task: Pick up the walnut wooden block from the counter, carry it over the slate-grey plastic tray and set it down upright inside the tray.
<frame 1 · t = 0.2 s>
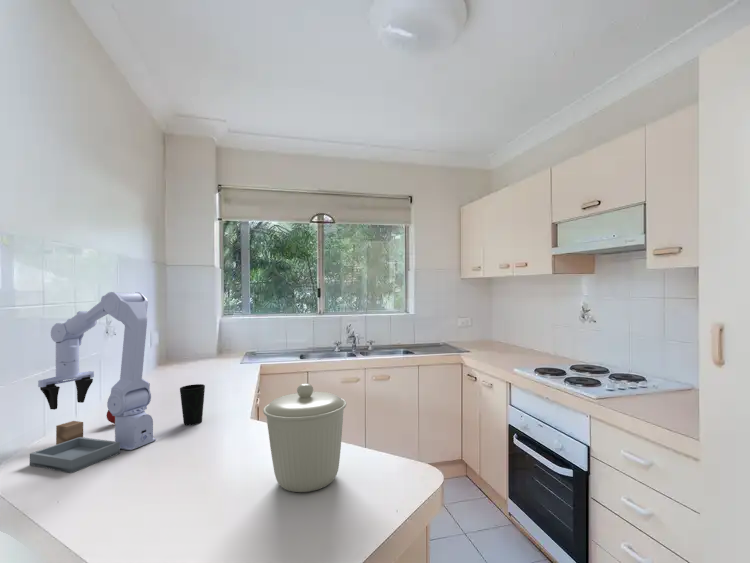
hand: (67, 405, 117), 10 cm above the worktop, tool pointing down, fingers open, 7 cm apart
block: (69, 444, 111), on the worktop
canister: (307, 481, 83), on the worktop
cup: (192, 423, 127), on the worktop
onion: (117, 425, 128), on the worktop
tray: (75, 459, 99), on the worktop
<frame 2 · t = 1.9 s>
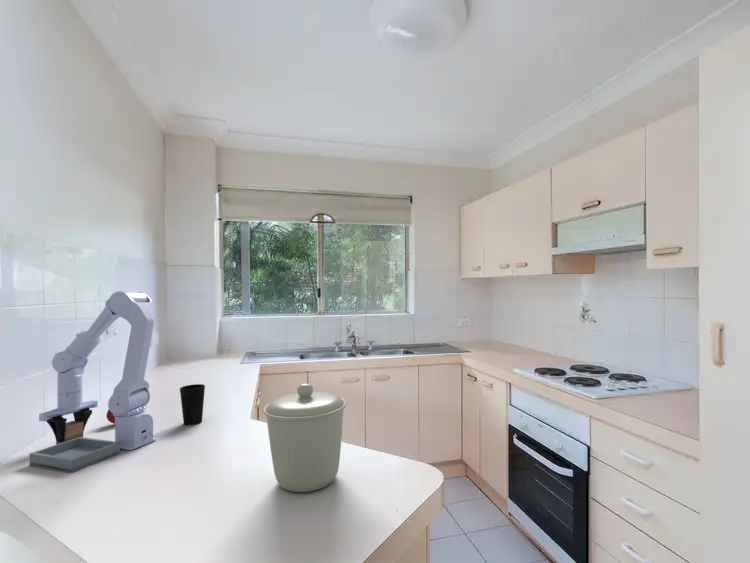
hand: (69, 438, 111), 2 cm above the worktop, tool pointing down, fingers closed on block, 4 cm apart
block: (69, 444, 111), on the worktop, touching gripper
everything else where it was.
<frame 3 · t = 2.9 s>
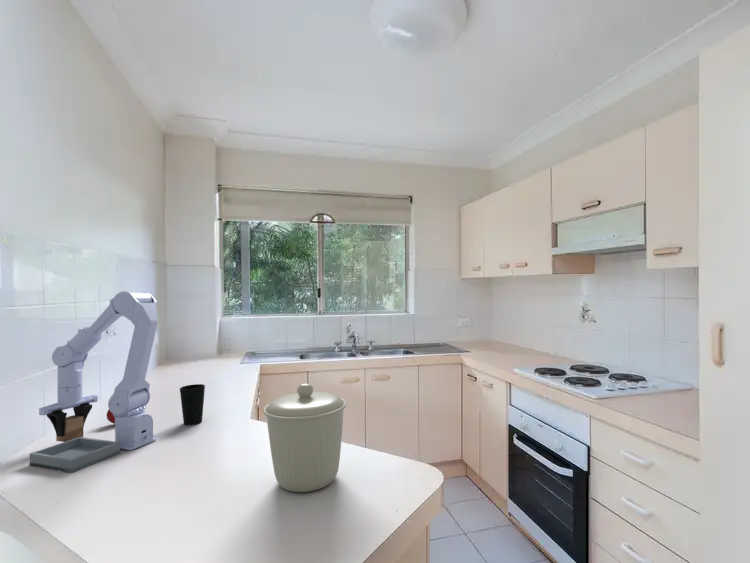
hand: (70, 433, 111), 3 cm above the worktop, tool pointing down, fingers closed on block, 4 cm apart
block: (70, 438, 111), point 2 cm above the worktop, touching gripper
everything else where it was.
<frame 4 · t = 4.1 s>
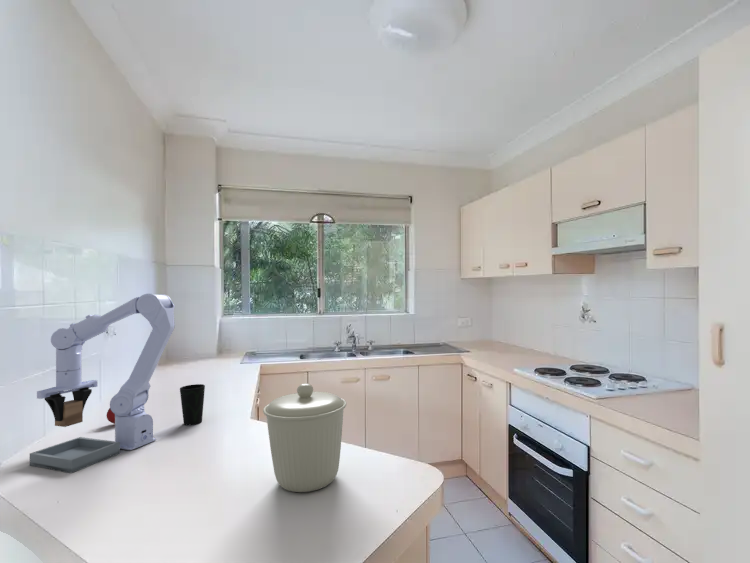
hand: (68, 417, 108), 9 cm above the worktop, tool pointing down, fingers closed on block, 4 cm apart
block: (68, 423, 108), point 7 cm above the worktop, touching gripper
everything else where it was.
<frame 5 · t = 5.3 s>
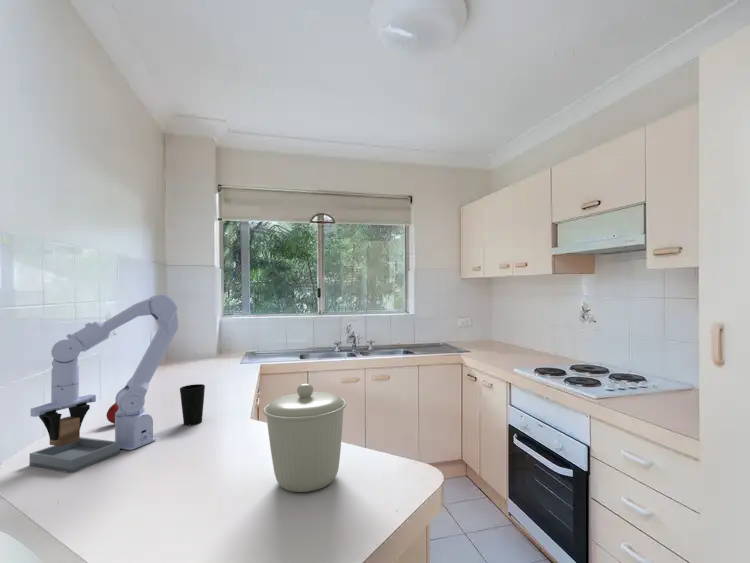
hand: (64, 436, 100), 6 cm above the worktop, tool pointing down, fingers closed on block, 4 cm apart
block: (64, 442, 100), point 4 cm above the worktop, touching gripper
everything else where it was.
when the fingers open (4 cm above the worktop, at t = 6.1 s): block drops 1 cm, resting on tray.
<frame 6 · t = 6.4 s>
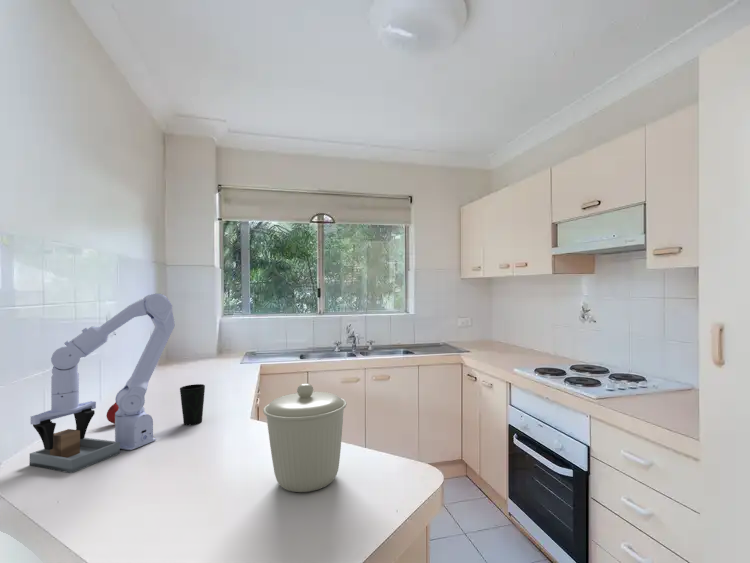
hand: (65, 443, 100), 4 cm above the worktop, tool pointing down, fingers open, 7 cm apart
block: (65, 455, 100), point 1 cm above the worktop, touching tray
everything else where it was.
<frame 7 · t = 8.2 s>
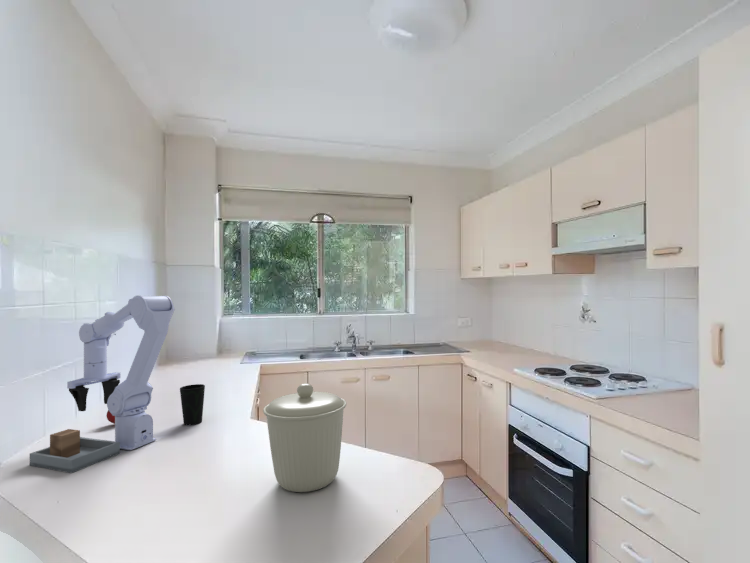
hand: (95, 407, 115), 9 cm above the worktop, tool pointing down, fingers open, 7 cm apart
nothing on the worktop moved.
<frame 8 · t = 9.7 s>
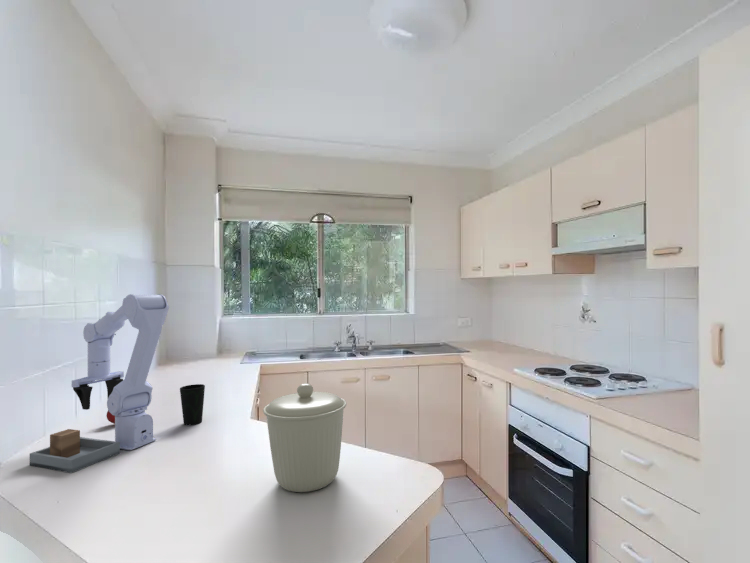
hand: (99, 405, 117), 9 cm above the worktop, tool pointing down, fingers open, 7 cm apart
nothing on the worktop moved.
at the end: block inside the target area on the tray (3.5 cm from its centre), point 0.8 cm above the tray's base; block tilted 0°; the gripper is holding nothing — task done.
